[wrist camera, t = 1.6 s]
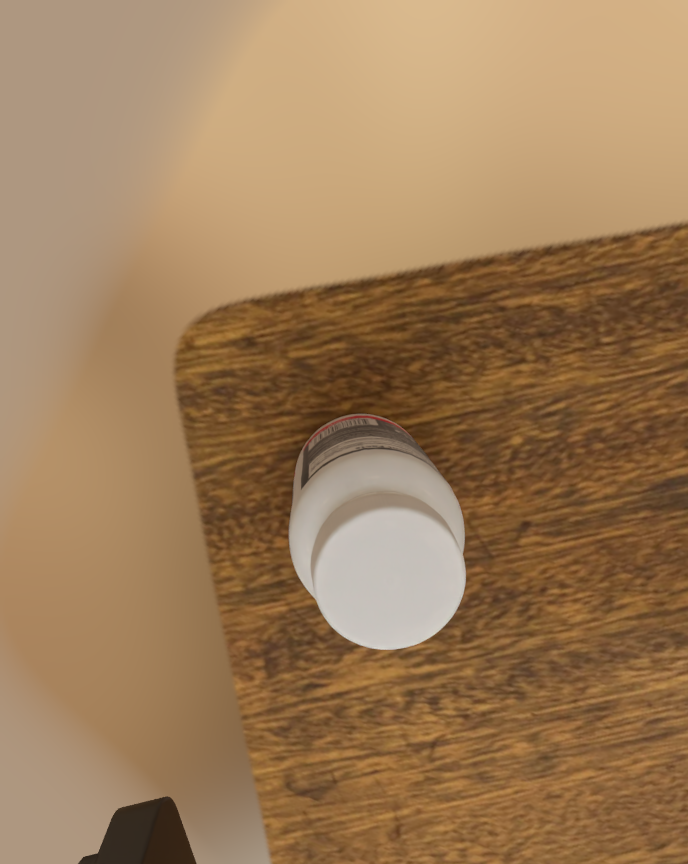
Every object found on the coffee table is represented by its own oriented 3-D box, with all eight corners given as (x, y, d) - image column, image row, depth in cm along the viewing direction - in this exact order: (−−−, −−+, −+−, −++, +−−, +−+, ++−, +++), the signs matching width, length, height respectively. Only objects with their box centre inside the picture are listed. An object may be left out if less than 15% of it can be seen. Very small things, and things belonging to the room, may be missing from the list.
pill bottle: (403, 551, 26) (455, 696, 16) (279, 519, 26) (259, 651, 16) (442, 430, 25) (522, 510, 16) (314, 395, 24) (315, 455, 15)
